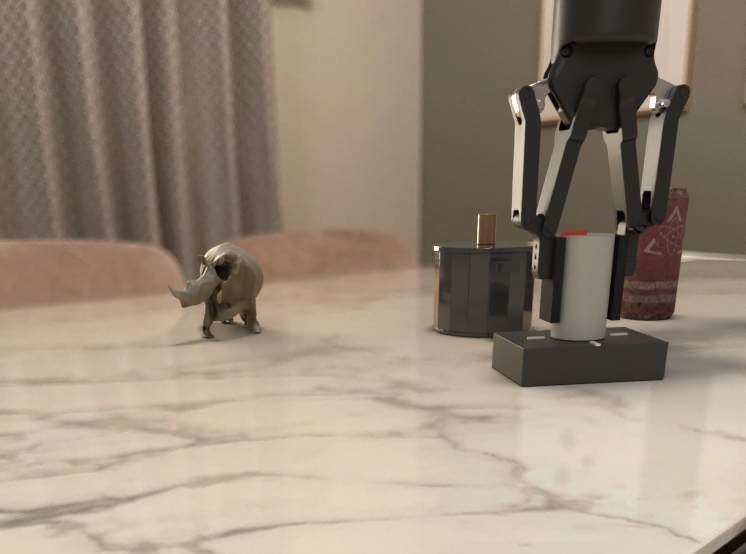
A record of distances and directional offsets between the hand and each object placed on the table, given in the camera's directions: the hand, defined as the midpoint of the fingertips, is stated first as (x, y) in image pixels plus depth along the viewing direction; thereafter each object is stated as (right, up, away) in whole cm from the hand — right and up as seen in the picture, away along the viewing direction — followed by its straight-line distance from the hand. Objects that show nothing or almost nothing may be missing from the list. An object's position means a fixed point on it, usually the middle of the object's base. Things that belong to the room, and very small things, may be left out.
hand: (579, 318), depth 70 cm
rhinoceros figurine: (-33, +5, +25) cm, 41 cm away
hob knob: (0, -1, +1) cm, 1 cm away
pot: (-4, +5, +24) cm, 24 cm away
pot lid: (-4, +13, +20) cm, 24 cm away
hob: (0, -4, +2) cm, 4 cm away
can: (+16, +8, +30) cm, 35 cm away
